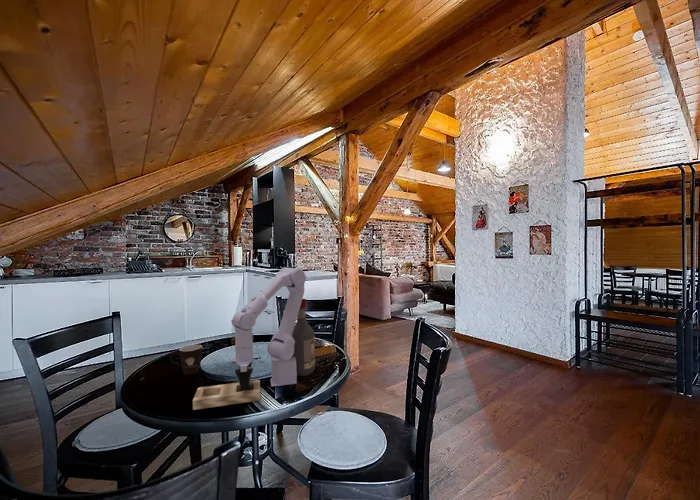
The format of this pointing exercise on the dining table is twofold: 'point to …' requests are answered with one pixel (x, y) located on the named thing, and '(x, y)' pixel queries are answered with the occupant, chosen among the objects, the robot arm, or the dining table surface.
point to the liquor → (304, 343)
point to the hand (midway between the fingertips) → (245, 384)
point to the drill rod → (249, 382)
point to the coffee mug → (189, 358)
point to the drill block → (225, 395)
